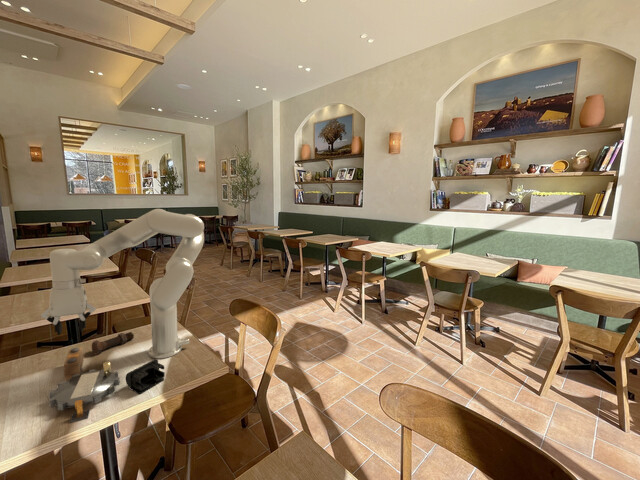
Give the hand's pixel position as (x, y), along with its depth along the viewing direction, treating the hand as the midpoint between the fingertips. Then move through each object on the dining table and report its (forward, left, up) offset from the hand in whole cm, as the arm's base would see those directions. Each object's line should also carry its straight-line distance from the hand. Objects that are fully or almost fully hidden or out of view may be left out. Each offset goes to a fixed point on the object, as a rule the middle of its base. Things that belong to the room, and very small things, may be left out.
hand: (71, 331), depth 108 cm
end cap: (-23, +20, -16) cm, 34 cm away
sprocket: (-6, +18, -14) cm, 24 cm away
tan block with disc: (0, 0, -16) cm, 16 cm away
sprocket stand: (-6, +23, -16) cm, 28 cm away
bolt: (-11, -14, -16) cm, 24 cm away
